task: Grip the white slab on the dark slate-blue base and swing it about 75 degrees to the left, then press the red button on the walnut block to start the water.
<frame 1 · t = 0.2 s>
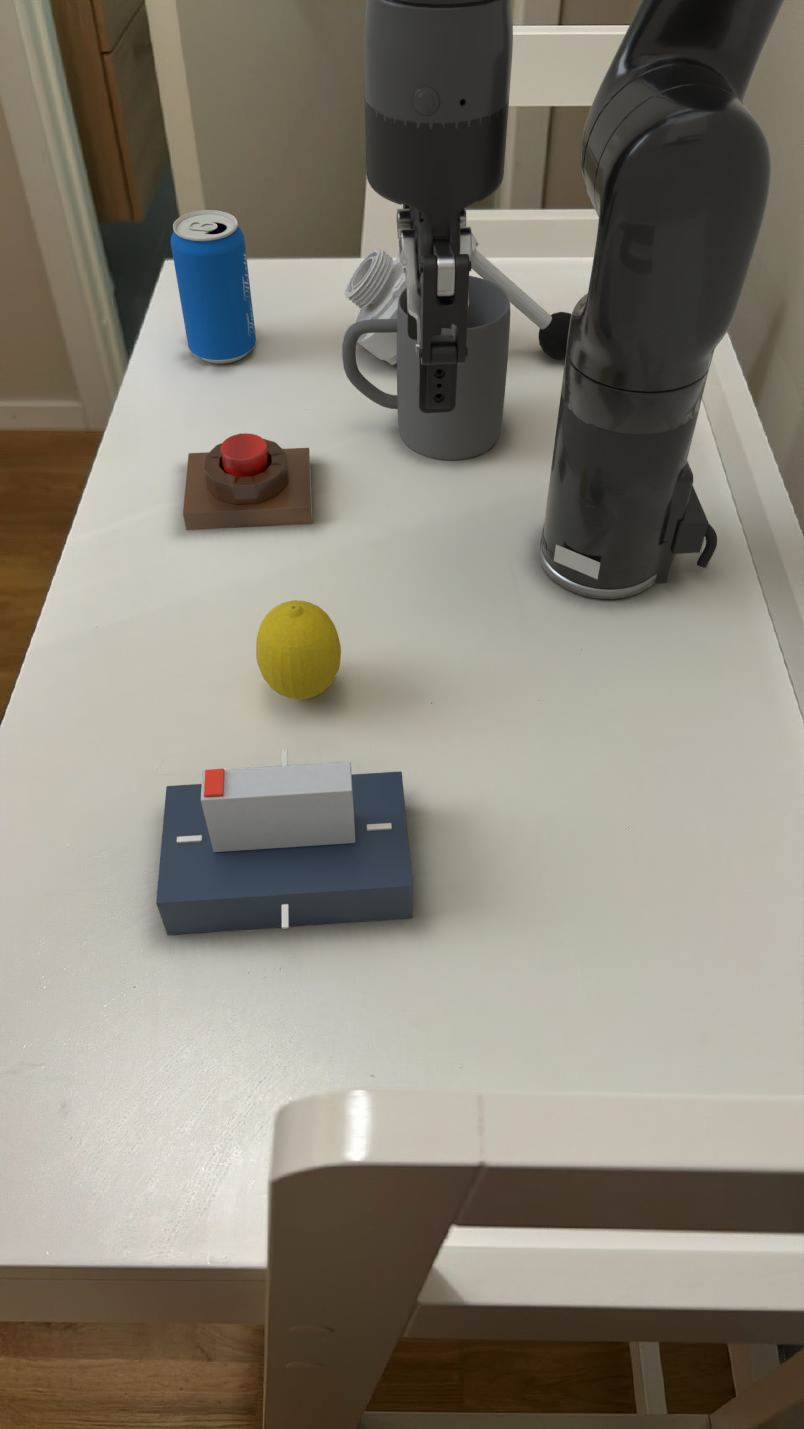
hand: (430, 371, 66), 17 cm above the table, tool pointing down, fingers open, 8 cm apart
beverage can: (223, 352, 101), on the table
valve: (463, 352, 100), on the table
button block: (250, 496, 86), on the table
white slab: (280, 806, 58), point 6 cm above the table, hinge at 0.0°
lemon: (303, 694, 72), on the table
button: (244, 455, 83), point 4 cm above the table, slide at 0.1 cm
mug: (423, 433, 92), on the table
blue dial base: (289, 867, 62), on the table
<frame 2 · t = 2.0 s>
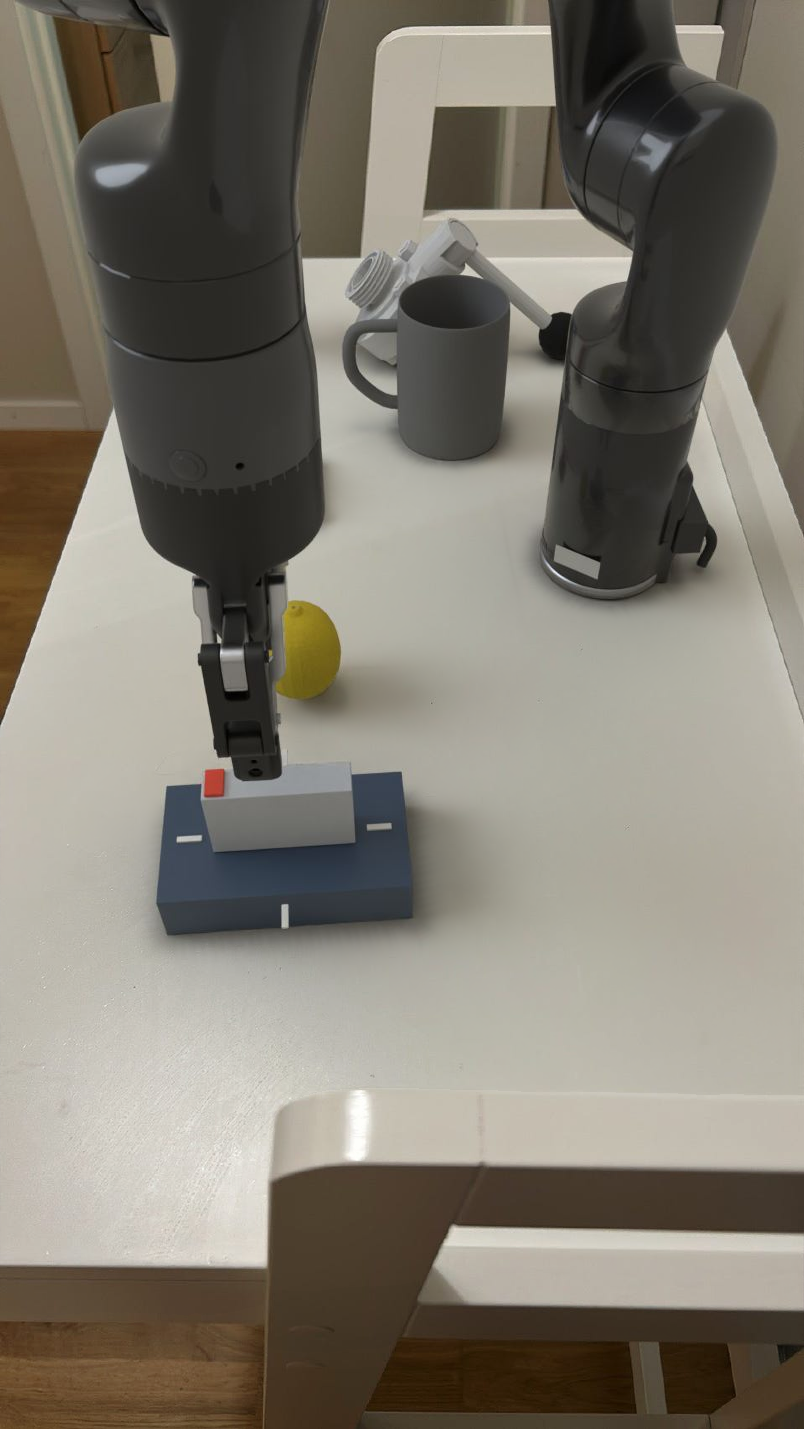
hand: (261, 706, 52), 14 cm above the table, tool pointing down, fingers open, 8 cm apart
nothing on the table moved.
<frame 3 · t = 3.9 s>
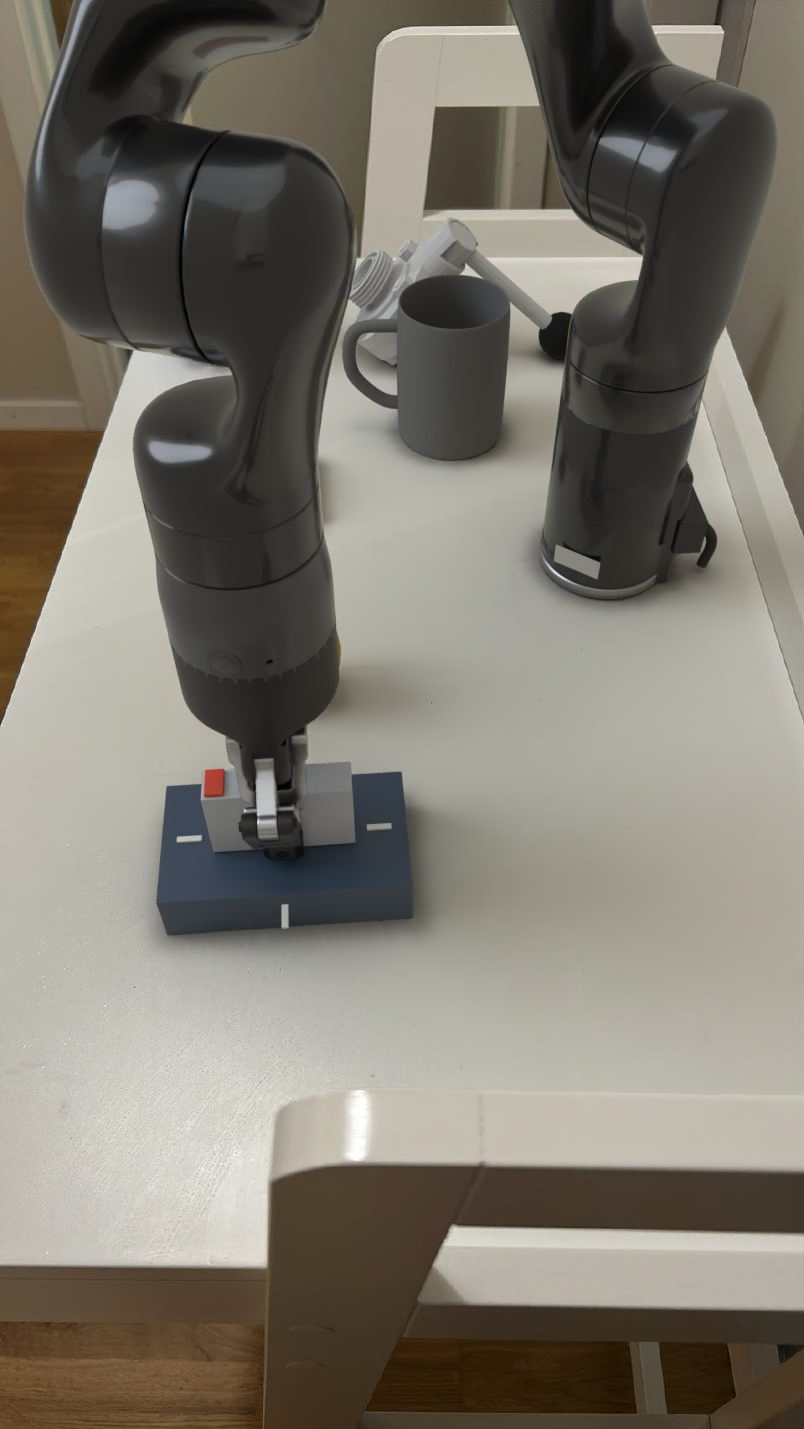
hand: (284, 832, 60), 4 cm above the table, tool pointing down, fingers closed
white slab: (280, 806, 58), point 6 cm above the table, hinge at 0.1°, touching gripper
everything else where it was.
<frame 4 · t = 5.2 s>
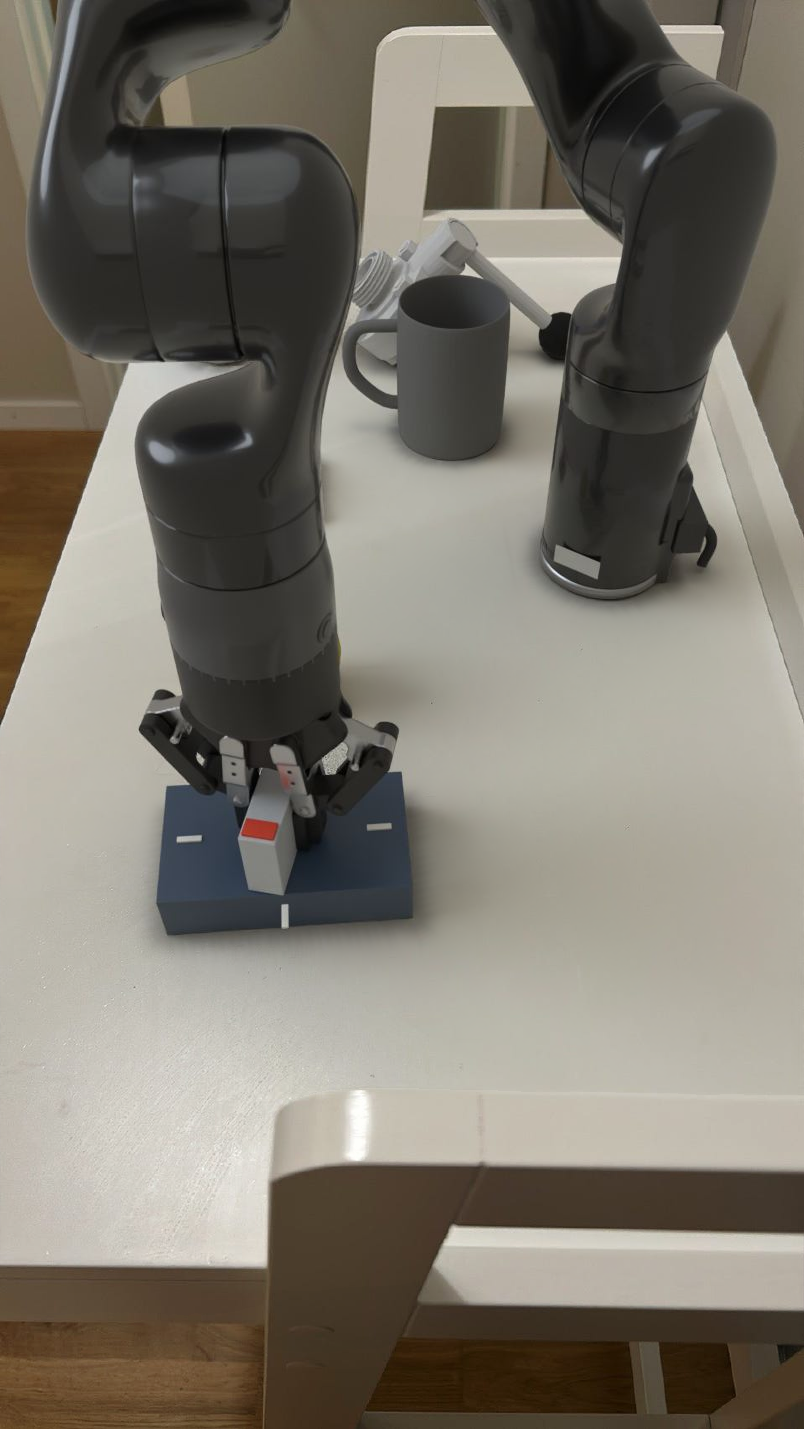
hand: (283, 833, 60), 4 cm above the table, tool pointing down, fingers closed, pressing on white slab, blue dial base
white slab: (280, 806, 58), point 6 cm above the table, hinge at 75.0°, touching gripper
everything else where it was.
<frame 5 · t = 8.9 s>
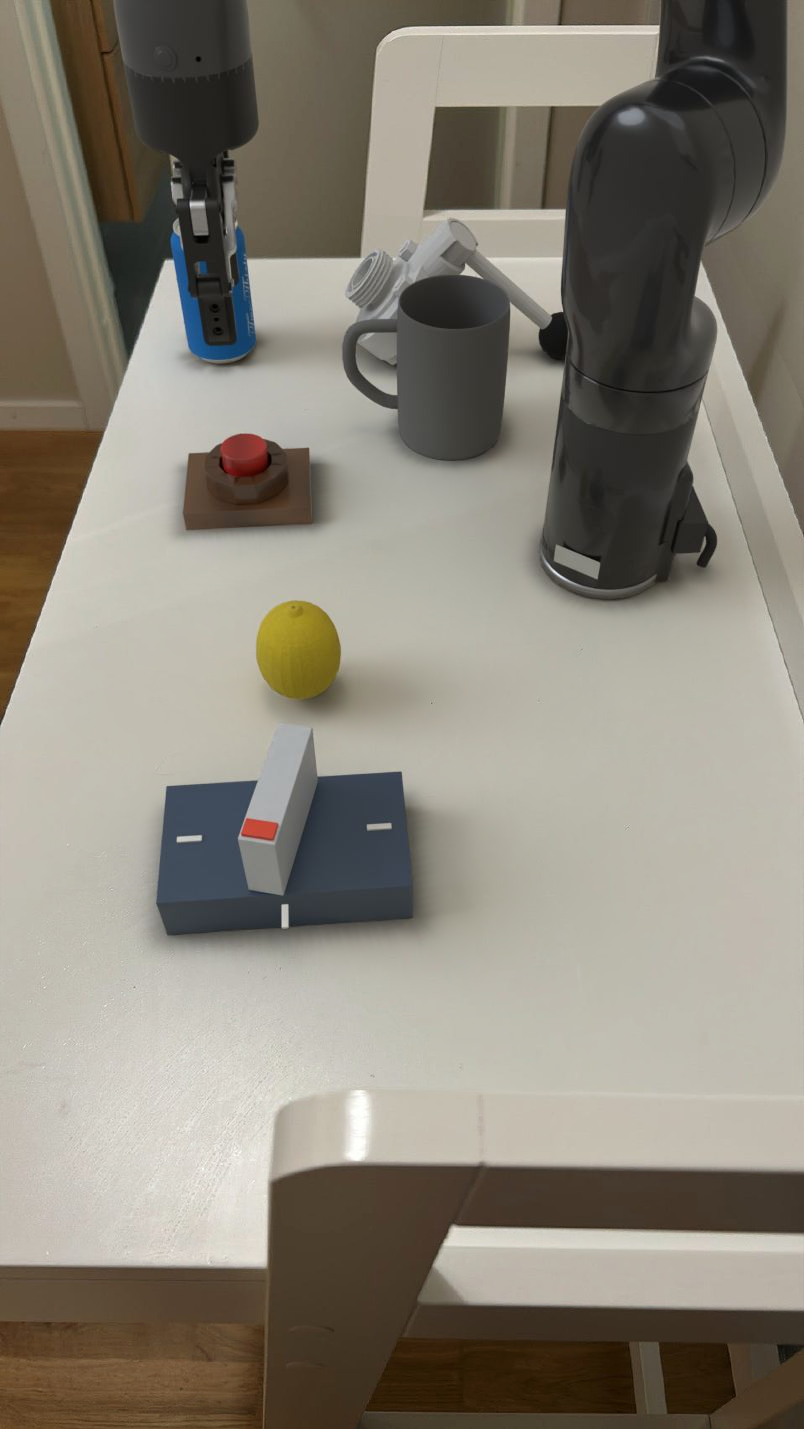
hand: (223, 312, 73), 16 cm above the table, tool pointing down, fingers open, 8 cm apart
white slab: (280, 806, 58), point 6 cm above the table, hinge at 75.0°
everything else where it was.
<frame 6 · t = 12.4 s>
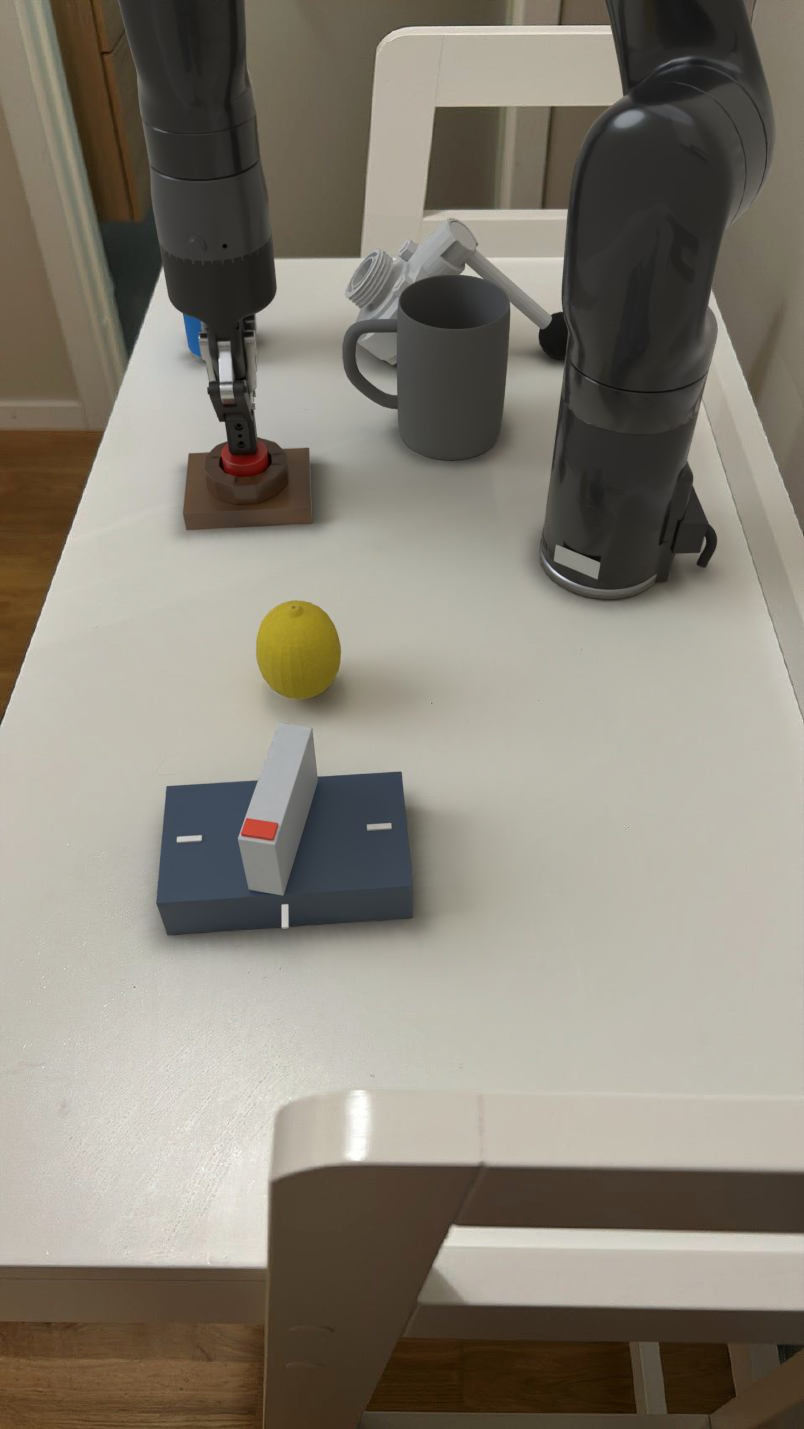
hand: (243, 449, 83), 4 cm above the table, tool pointing down, fingers closed
button: (245, 460, 83), point 3 cm above the table, slide at -0.4 cm, touching gripper
everything else where it was.
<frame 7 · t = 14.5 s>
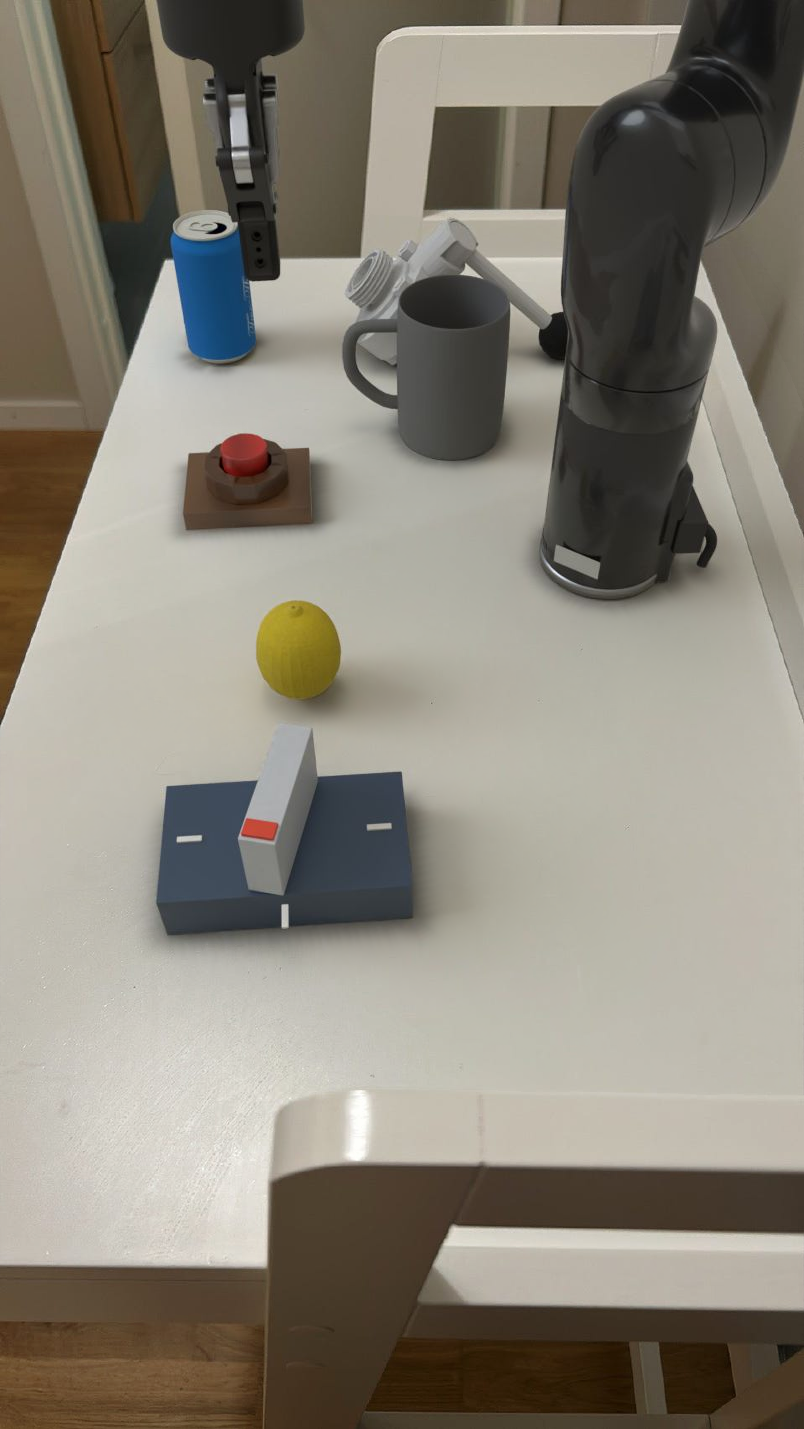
hand: (263, 275, 65), 22 cm above the table, tool pointing down, fingers closed
button: (244, 455, 83), point 4 cm above the table, slide at 0.1 cm
everything else where it was.
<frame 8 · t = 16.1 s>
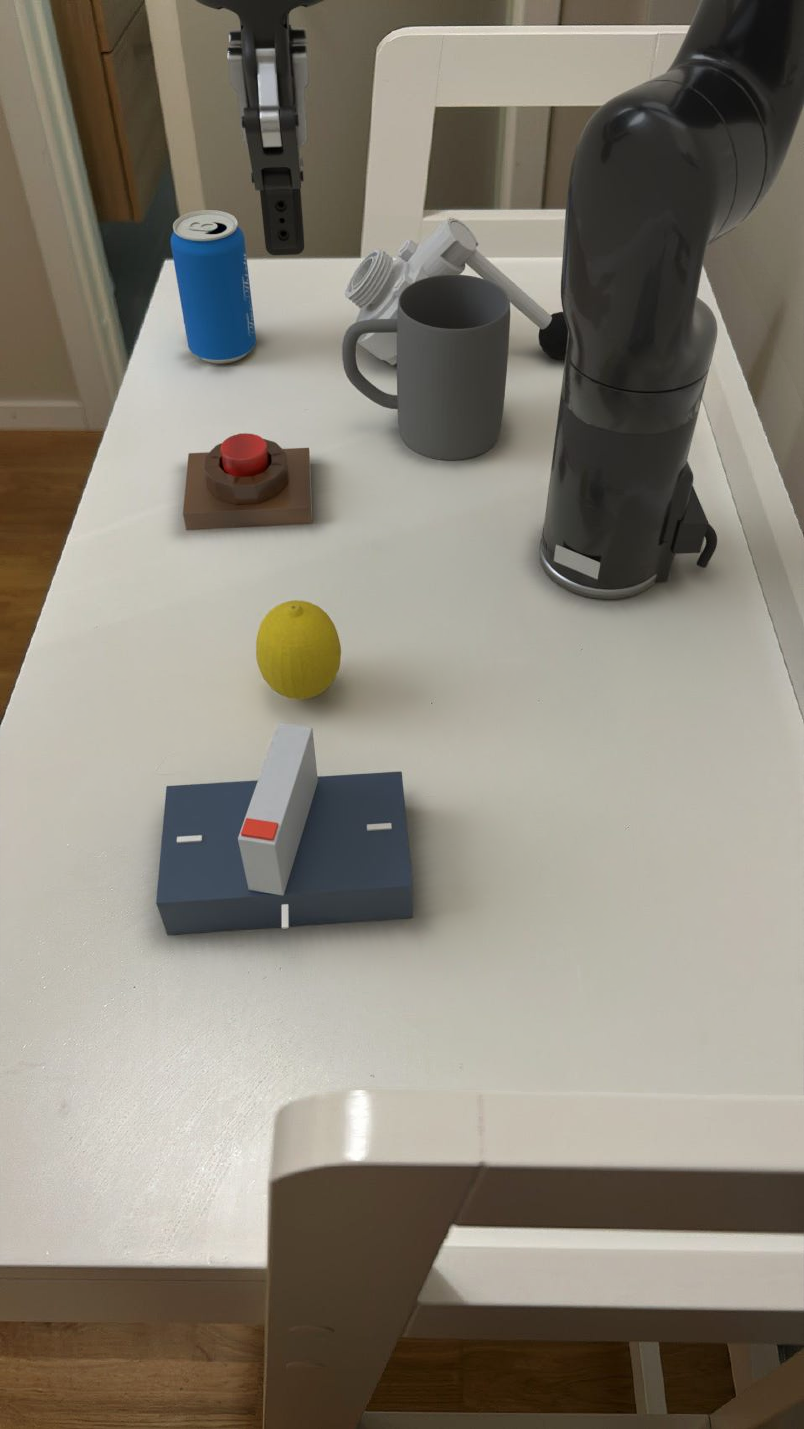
hand: (285, 248, 60), 25 cm above the table, tool pointing down, fingers closed
nothing on the table moved.
at the end: white slab at +75° (first picture: +0°); button pushed in 1.1 cm at the most during the clip, back to where it started at the end; button slide at 0.1 cm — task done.
